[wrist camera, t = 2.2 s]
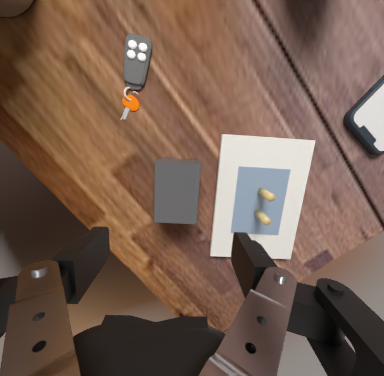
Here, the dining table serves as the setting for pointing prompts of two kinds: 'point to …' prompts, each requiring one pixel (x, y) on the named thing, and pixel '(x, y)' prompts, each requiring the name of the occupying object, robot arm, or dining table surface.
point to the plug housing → (176, 190)
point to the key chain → (135, 68)
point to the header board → (259, 192)
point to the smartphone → (369, 119)
